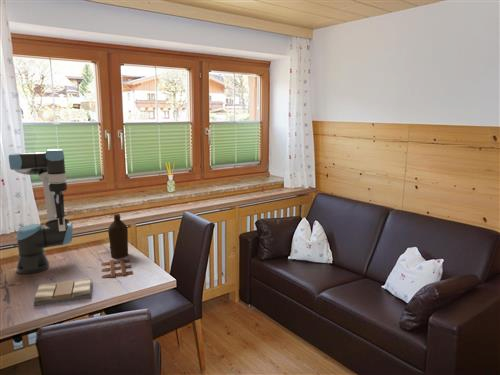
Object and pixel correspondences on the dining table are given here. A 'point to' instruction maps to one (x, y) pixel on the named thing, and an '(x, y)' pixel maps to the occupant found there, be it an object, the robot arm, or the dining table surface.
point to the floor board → (64, 294)
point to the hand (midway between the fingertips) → (62, 230)
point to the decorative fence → (117, 268)
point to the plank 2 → (82, 287)
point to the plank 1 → (45, 292)
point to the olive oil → (118, 238)
